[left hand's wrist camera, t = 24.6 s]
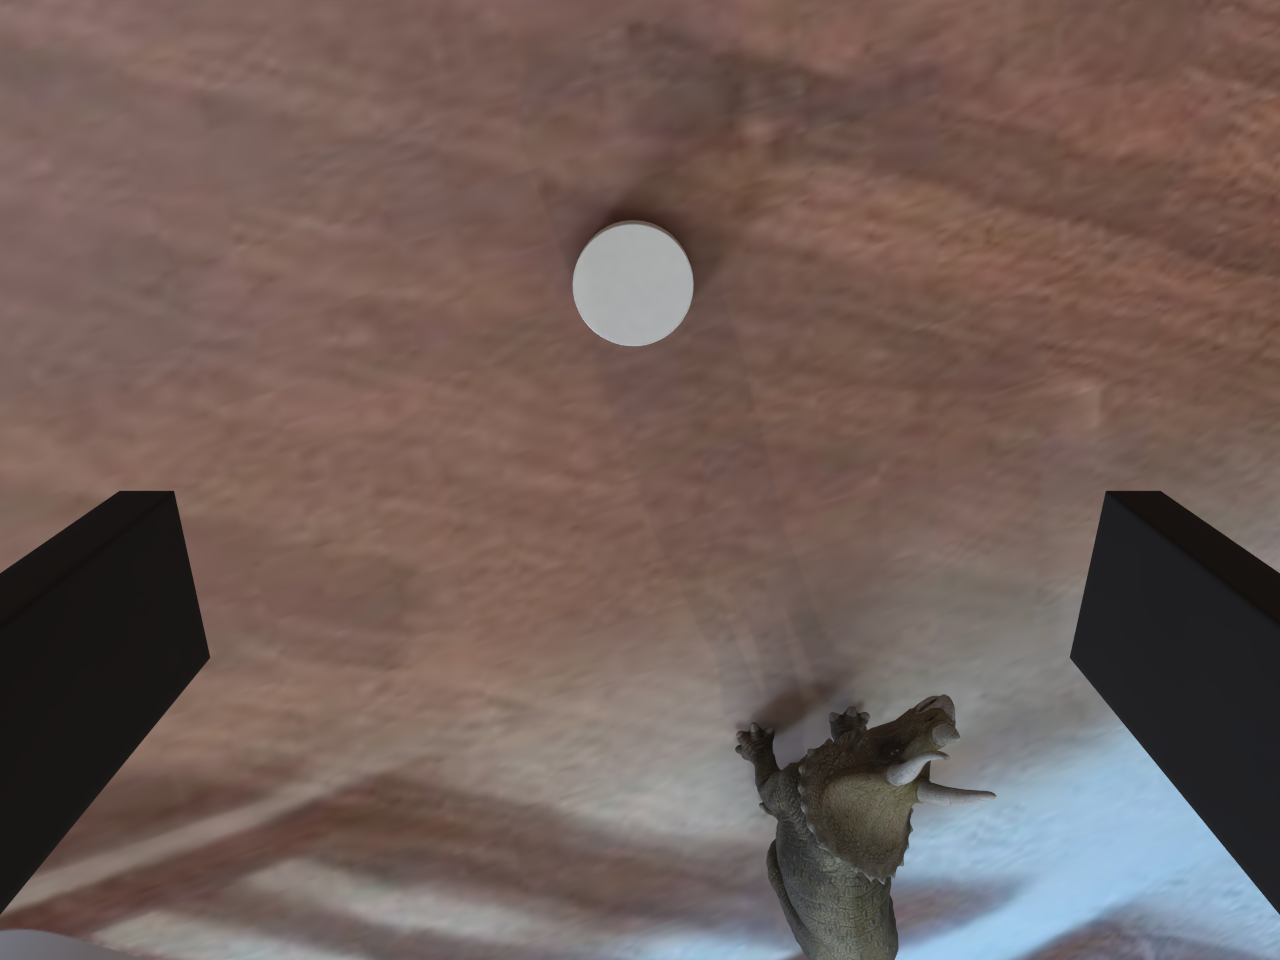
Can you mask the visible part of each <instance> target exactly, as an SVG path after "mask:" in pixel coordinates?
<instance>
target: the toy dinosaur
mask: <svg viewBox="0 0 1280 960" xmlns="http://www.w3.org/2000/svg"><path fill="white" fill-rule="evenodd" d="M869 718H870V715H869V714H868V713H867V712H862V713H857V712H856V709H855V707H852V706H851V707H849V708H848V709H847V710H846V711H845V713H844V714H843V715H839V714H837V713H830V716H829V721H830V724H831V734H832V737H833V739H834V742H833V741H832V740H831V739H830V738H829V739H827V741H826V742H825V743H824V744H823V745H822V746H821V747H819V748H816V749H808V751H807V754H806V756H805V757H804V758H802V759H801V761H800V762H798V763H790V764H789V765H788V766H787V767H786V768H785V769H784V770H781V771H780V769H779V768H778V766H777V764H776V760H775V755H774V754H773V739H774V729H773V728H772V727H769V728H768V729H765V730H762V729H761V728H760V727H759V726H758V724H757V723H756V722H753V723H752V724H751V727H750V731H749V732H744V731H739V732H737V734H736V736H737V738H738V741H739V742H740V744H741V745H738V746H737V747H736V748H735V750H736V752H737V753H739V754H741V755H742V758H744V759H745V760H749V761H751V762H752V763H753V764H754V765H755V783H756V786H757V789H758V792H759V794H760V796H761V798H762V800H763V802H762V803H760V804H759V807H760V808H761V809H762V810H763V811H764V812H766V813H767V814H770V815H773V816H774V817H776V819H777V820H778V824H777V831H776V839H775V840H774V841H773V842H772V843H771V845H770V848H769V850H768V853H767V860H766V863H767V867H768V878H769V881H770V883H771V885H772V887H773V888H774V890H775V892H776V894H777V896H778V898H779V900H780V904H781V907H782V909H783V911H784V914H785V916H786V919H787V922H788V924H789V925H790V927H791V929H792V932H793V934H794V936H795V939H796V941H797V942H798V943H799V945H800V946H801V948H802V950H803V952H804V954H805V955H806V956H807V957H808V958H809V959H810V960H895V957H896V955H897V952H898V933H897V929H896V919H895V917H894V911H893V901H892V898H891V896H890V888H891V878H893V879H894V878H895V873H896V869H897V867H898V866H904V860H903V857H904V853H905V851H906V849H908V848H909V842H908V837H909V834H910V833H911V832H912V831H913V829H912V826H911V824H910V818H911V814H912V813H913V809H912V808H911V807H912V805H913V804H914V803H930V804H936V805H945V806H958V805H965V804H970V803H974V802H979V801H983V800H989V799H994V798H996V797H997V796H996V795H995V794H994V793H992V792H989V791H977V790H964V789H957V788H951V787H945V786H941V785H938V784H935V783H931V782H930V781H929V778H930V763H931V760H937V759H941V760H948V759H949V756H948V755H947V754H945V753H943V752H940V751H936V750H938V749H940V748H942V747H944V746H945V745H946V744H950V743H954V742H958V741H960V736H959V733H958V732H957V730H956V729H955V708H954V704H953V702H952V700H951V699H950V697H949V696H947V695H941V696H931V697H928V698H926V699H925V700H923V701H922V702H920V703H919V704H918V705H916V706H915V707H914V708H912V709H909V710H908V711H907V712H906V713H904V714H903V715H902V716H900V717H899V718H898V719H896V720H895V721H892V722H889V723H886V724H883V725H880V726H877V727H874V728H871V729H869V730H867V728H866V726H865V725H866V724H867V723H868V720H869Z"/></svg>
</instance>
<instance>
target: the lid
mask: <svg viewBox="0 0 1280 960" xmlns="http://www.w3.org/2000/svg"><path fill="white" fill-rule="evenodd" d="M693 288H694V281H693V273H692V269H691V266H690V263H689V260H688V258H687V255H686V253H685V251H684V249H683V247H682V246H681V245H680V243H679V242H678V241H677V240H676V239H675V238H674V236H673V235H671V234H670V233H669V232H668V231H666V230H665V229H663V228H661V227H660V226H657V225H655V224H653V223H649V222H646V221H639V220H627V221H621V222H617V223H614V224H612V225H609V226H607V227H605V228H604V229H602V230H600V231H599V232H598V233H597V234H595V235H594V236H593V237H592V238H591V239H590V240H589V242H588V243H587V244H586V246H585V247H584V249H583V251H582V253H581V254H580V257H579V259H578V261H577V264H576V266H575V270H574V275H573V294H574V299H575V303H576V306H577V308H578V310H579V313H580V315H581V316H582V318H583V319H584V321H585V322H586V323H587V325H588V326H589V327H590V328H591V329H592V330H593V331H594V332H596V333H597V334H598V335H600V336H601V337H603V338H605V339H606V340H608V341H611V342H613V343H617V344H620V345H627V346H640V345H646V344H650V343H653V342H656V341H658V340H660V339H662V338H664V337H666V336H667V335H668V334H670V333H671V332H672V331H673V330H674V329H676V328H677V327H678V325H679V324H680V323H681V322H682V320H683V319H684V317H685V315H686V314H687V312H688V309H689V307H690V304H691V301H692V297H693Z"/></svg>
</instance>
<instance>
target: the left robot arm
mask: <svg viewBox="0 0 1280 960" xmlns="http://www.w3.org/2000/svg"><path fill="white" fill-rule="evenodd" d="M209 658H210V655H209V650H208V645H207V641H206V636H205V632H204V627H203V622H202V618H201V613H200V609H199V604H198V599H197V595H196V590H195V586H194V581H193V576H192V572H191V567H190V562H189V558H188V553H187V549H186V544H185V539H184V535H183V530H182V526H181V521H180V516H179V512H178V507H177V503H176V498H175V493H174V491H119V492H117V493H116V494H114V495H113V496H112V497H110V498H109V499H107V500H106V501H104V502H103V503H101V504H100V505H99V506H97V507H96V508H94V509H93V510H91V511H90V512H88V513H87V514H86V515H84V516H83V517H81V518H80V519H78V520H77V521H75V522H74V523H72V524H71V525H70V526H68V527H67V528H65V529H64V530H62V531H61V532H59V533H58V534H57V535H55V536H54V537H52V538H51V539H49V540H48V541H46V542H45V543H44V544H42V545H41V546H39V547H38V548H36V549H35V550H33V551H32V552H31V553H29V554H28V555H26V556H25V557H23V558H22V559H20V560H19V561H17V562H16V563H15V564H13V565H12V566H10V567H9V568H7V569H6V570H4V571H3V572H2V573H0V914H1V913H2V912H3V911H4V909H5V908H6V907H7V906H8V905H9V903H10V902H11V901H12V900H13V898H14V897H15V896H16V895H17V894H18V892H19V891H20V890H21V889H22V887H23V886H24V885H25V884H26V883H27V881H28V880H29V879H30V878H31V876H32V875H33V874H34V873H35V872H36V870H37V869H38V868H39V867H40V865H41V864H42V863H43V862H44V860H45V859H46V858H47V857H48V856H49V854H50V853H51V852H52V851H53V849H54V848H55V847H56V846H57V845H58V843H59V842H60V841H61V840H62V838H63V837H64V836H65V835H66V834H67V832H68V831H69V830H70V829H71V827H72V826H73V825H74V824H75V823H76V821H77V820H78V819H79V818H80V816H81V815H82V814H83V813H84V812H85V810H86V809H87V808H88V807H89V805H90V804H91V803H92V802H93V801H94V799H95V798H96V797H97V796H98V794H99V793H100V792H101V791H102V789H103V788H104V787H105V786H106V785H107V783H108V782H109V781H110V780H111V778H112V777H113V776H114V775H115V774H116V772H117V771H118V770H119V769H120V767H121V766H122V765H123V764H124V763H125V761H126V760H127V759H128V758H129V756H130V755H131V754H132V753H133V752H134V750H135V749H136V748H137V747H138V745H139V744H140V743H141V742H142V741H143V739H144V738H145V737H146V736H147V734H148V733H149V732H150V731H151V729H152V728H153V727H154V726H155V725H156V723H157V722H158V721H159V720H160V718H161V717H162V716H163V715H164V714H165V712H166V711H167V710H168V709H169V707H170V706H171V705H172V704H173V703H174V701H175V700H176V699H177V698H178V696H179V695H180V694H181V693H182V692H183V690H184V689H185V688H186V687H187V685H188V684H189V683H190V682H191V681H192V679H193V678H194V677H195V676H196V674H197V673H198V672H199V671H200V670H201V668H202V667H203V666H204V665H205V663H206V662H207V661H208V660H209ZM1070 658H1071V660H1072V661H1073V662H1074V663H1075V665H1076V666H1077V667H1078V668H1079V670H1080V671H1081V672H1082V673H1083V674H1084V676H1085V677H1086V678H1087V679H1088V681H1089V682H1090V683H1091V684H1092V685H1093V687H1094V688H1095V689H1096V690H1097V692H1098V693H1099V694H1100V695H1101V696H1102V698H1103V699H1104V700H1105V701H1106V703H1107V704H1108V705H1109V706H1110V707H1111V709H1112V710H1113V711H1114V712H1115V714H1116V715H1117V716H1118V717H1119V718H1120V720H1121V721H1122V722H1123V723H1124V725H1125V726H1126V727H1127V728H1128V729H1129V731H1130V732H1131V733H1132V734H1133V736H1134V737H1135V738H1136V739H1137V741H1138V742H1139V743H1140V744H1141V745H1142V747H1143V748H1144V749H1145V750H1146V752H1147V753H1148V754H1149V755H1150V756H1151V758H1152V759H1153V760H1154V761H1155V763H1156V764H1157V765H1158V766H1159V767H1160V769H1161V770H1162V771H1163V772H1164V774H1165V775H1166V776H1167V777H1168V778H1169V780H1170V781H1171V782H1172V783H1173V785H1174V786H1175V787H1176V788H1177V789H1178V791H1179V792H1180V793H1181V794H1182V796H1183V797H1184V798H1185V799H1186V801H1187V802H1188V803H1189V804H1190V805H1191V807H1192V808H1193V809H1194V810H1195V812H1196V813H1197V814H1198V815H1199V816H1200V818H1201V819H1202V820H1203V821H1204V823H1205V824H1206V825H1207V826H1208V827H1209V829H1210V830H1211V831H1212V832H1213V834H1214V835H1215V836H1216V837H1217V838H1218V840H1219V841H1220V842H1221V843H1222V845H1223V846H1224V847H1225V848H1226V849H1227V851H1228V852H1229V853H1230V854H1231V856H1232V857H1233V858H1234V859H1235V860H1236V862H1237V863H1238V864H1239V865H1240V867H1241V868H1242V869H1243V870H1244V872H1245V873H1246V874H1247V875H1248V876H1249V878H1250V879H1251V880H1252V881H1253V883H1254V884H1255V885H1256V886H1257V887H1258V889H1259V890H1260V891H1261V892H1262V894H1263V895H1264V896H1265V897H1266V898H1267V900H1268V901H1269V902H1270V903H1271V905H1272V906H1273V907H1274V908H1275V909H1276V911H1277V912H1278V913H1279V914H1280V573H1278V572H1277V571H1276V570H1274V569H1273V568H1271V567H1270V566H1268V565H1267V564H1265V563H1264V562H1263V561H1261V560H1260V559H1258V558H1257V557H1255V556H1254V555H1252V554H1251V553H1249V552H1248V551H1247V550H1245V549H1244V548H1242V547H1241V546H1239V545H1238V544H1236V543H1235V542H1234V541H1232V540H1231V539H1229V538H1228V537H1226V536H1225V535H1223V534H1222V533H1221V532H1219V531H1218V530H1216V529H1215V528H1213V527H1212V526H1210V525H1209V524H1208V523H1206V522H1205V521H1203V520H1202V519H1200V518H1199V517H1197V516H1196V515H1194V514H1193V513H1192V512H1190V511H1189V510H1187V509H1186V508H1184V507H1183V506H1181V505H1180V504H1179V503H1177V502H1176V501H1174V500H1173V499H1171V498H1170V497H1168V496H1167V495H1166V494H1164V493H1163V492H1161V491H1106V493H1105V498H1104V503H1103V507H1102V512H1101V516H1100V521H1099V526H1098V530H1097V535H1096V539H1095V544H1094V549H1093V553H1092V558H1091V562H1090V567H1089V572H1088V576H1087V581H1086V586H1085V590H1084V595H1083V599H1082V604H1081V609H1080V613H1079V618H1078V622H1077V627H1076V632H1075V636H1074V641H1073V645H1072V650H1071V655H1070Z"/></svg>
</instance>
